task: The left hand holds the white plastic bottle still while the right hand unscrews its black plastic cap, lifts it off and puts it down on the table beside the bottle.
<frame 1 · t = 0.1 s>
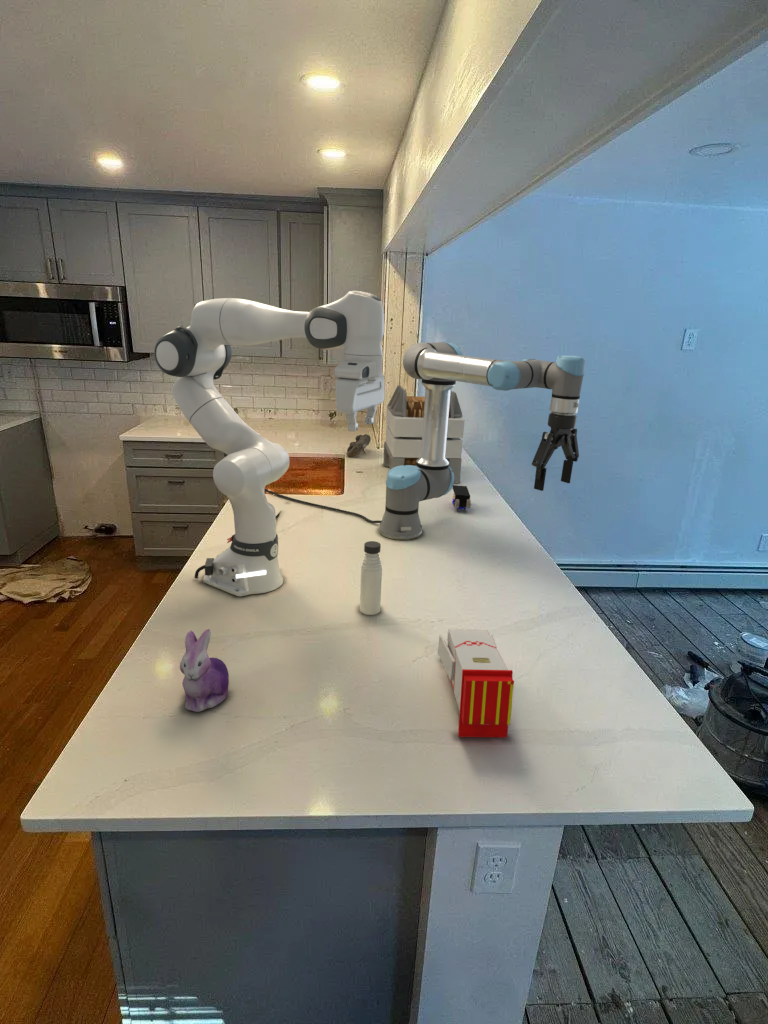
left hand: (361, 427, 134), 48 cm above the counter, tool pointing down, fingers open, 8 cm apart
right hand: (552, 485, 166), 28 cm above the counter, tool pointing down, fingers open, 13 cm apart
figurine character: (460, 507, 229), on the counter
feather: (279, 514, 213), on the counter
bottle: (369, 609, 149), on the counter
fossil: (358, 453, 307), on the counter
cap: (372, 545, 143), point 18 cm above the counter, screwed on, not yet turned
gray slatted crate: (419, 473, 275), on the counter
toy: (469, 691, 119), on the counter
figurine: (207, 698, 113), on the counter
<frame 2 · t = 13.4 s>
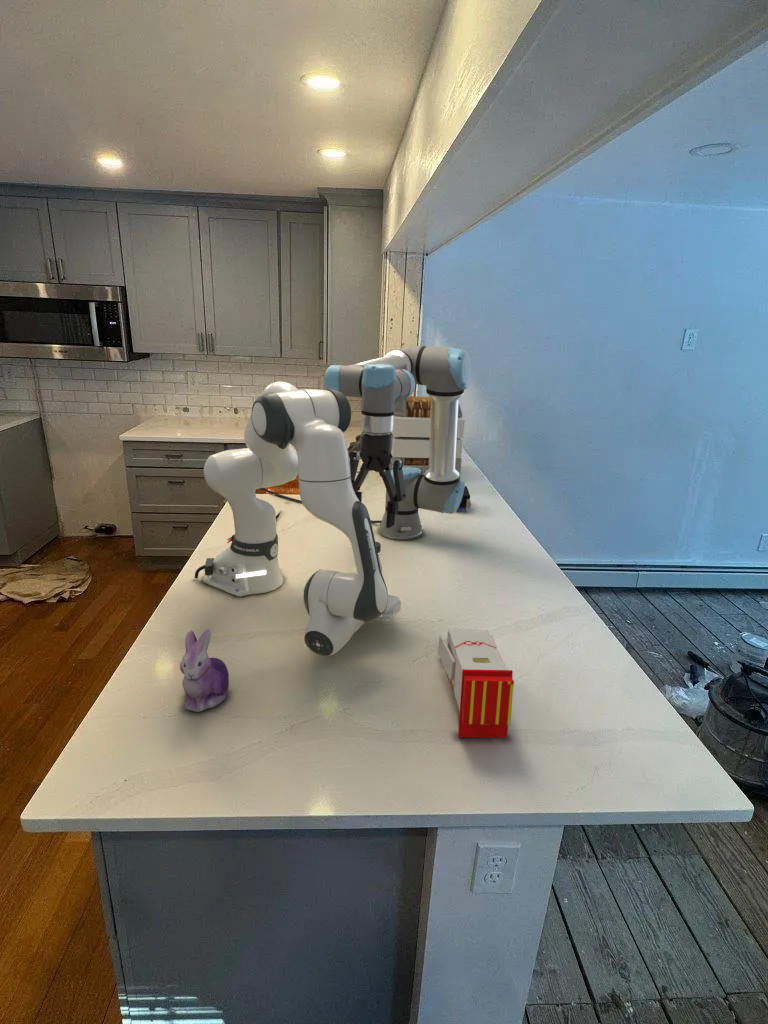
left hand: (372, 587, 148), 6 cm above the counter, tool horizontal, fingers closed on bottle, 5 cm apart
right hand: (373, 521, 141), 25 cm above the counter, tool pointing down, fingers open, 9 cm apart
bottle: (369, 609, 149), on the counter, touching left hand
everything else where it was.
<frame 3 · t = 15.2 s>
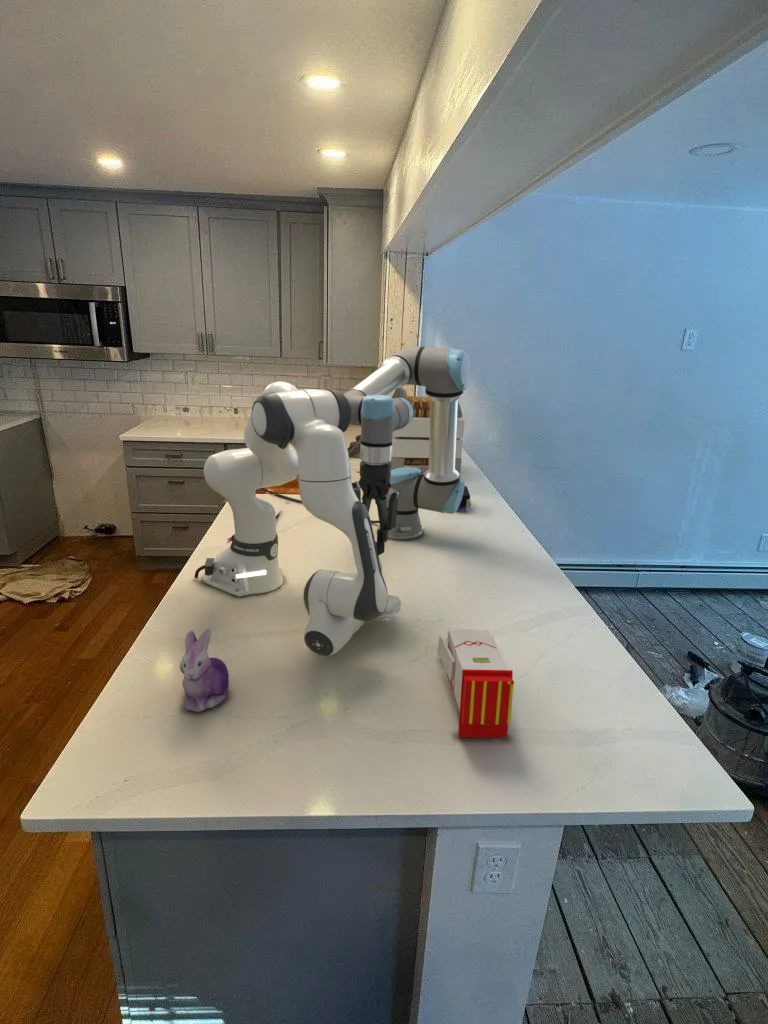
left hand: (372, 587, 148), 6 cm above the counter, tool horizontal, fingers closed on bottle, 5 cm apart
right hand: (372, 551, 143), 17 cm above the counter, tool pointing down, fingers closed on cap, 4 cm apart
bottle: (370, 609, 149), on the counter, touching left hand
cap: (372, 545, 143), point 18 cm above the counter, screwed on, not yet turned, touching right hand
everything else where it was.
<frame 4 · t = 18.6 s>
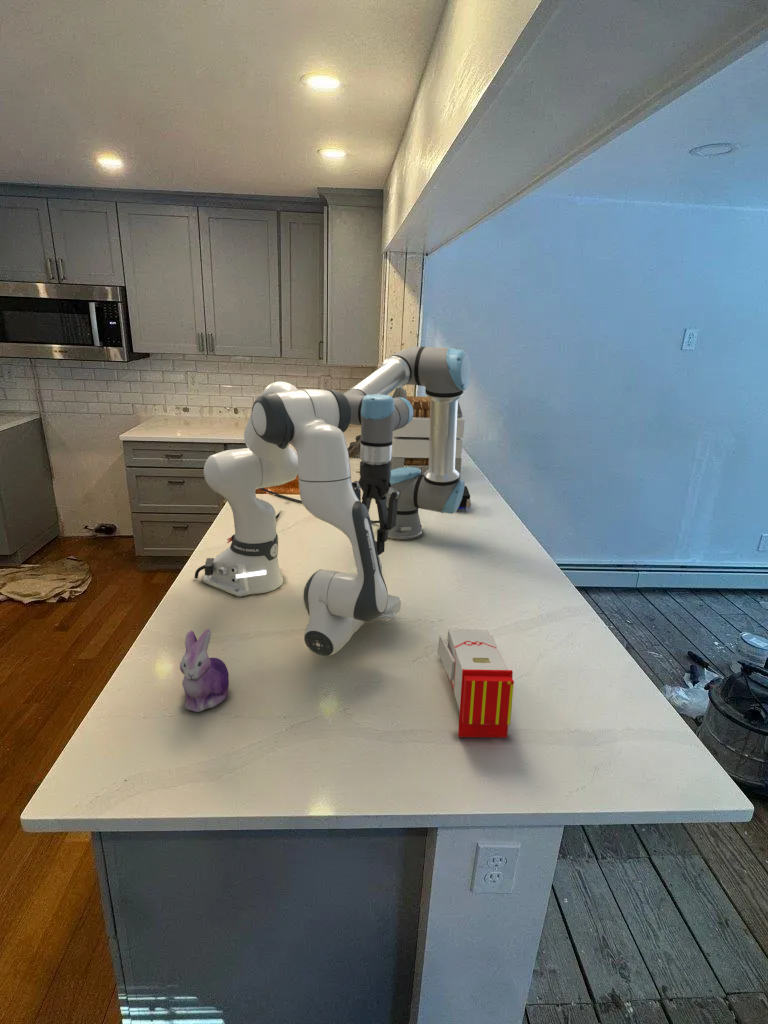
left hand: (372, 587, 148), 6 cm above the counter, tool horizontal, fingers closed on bottle, 5 cm apart
right hand: (372, 550, 143), 17 cm above the counter, tool pointing down, fingers closed on cap, 4 cm apart
bottle: (370, 609, 149), on the counter, touching left hand
cap: (372, 544, 143), point 19 cm above the counter, turned 112° so far, risen 0.1 cm, still on its thread, touching right hand
everything else where it was.
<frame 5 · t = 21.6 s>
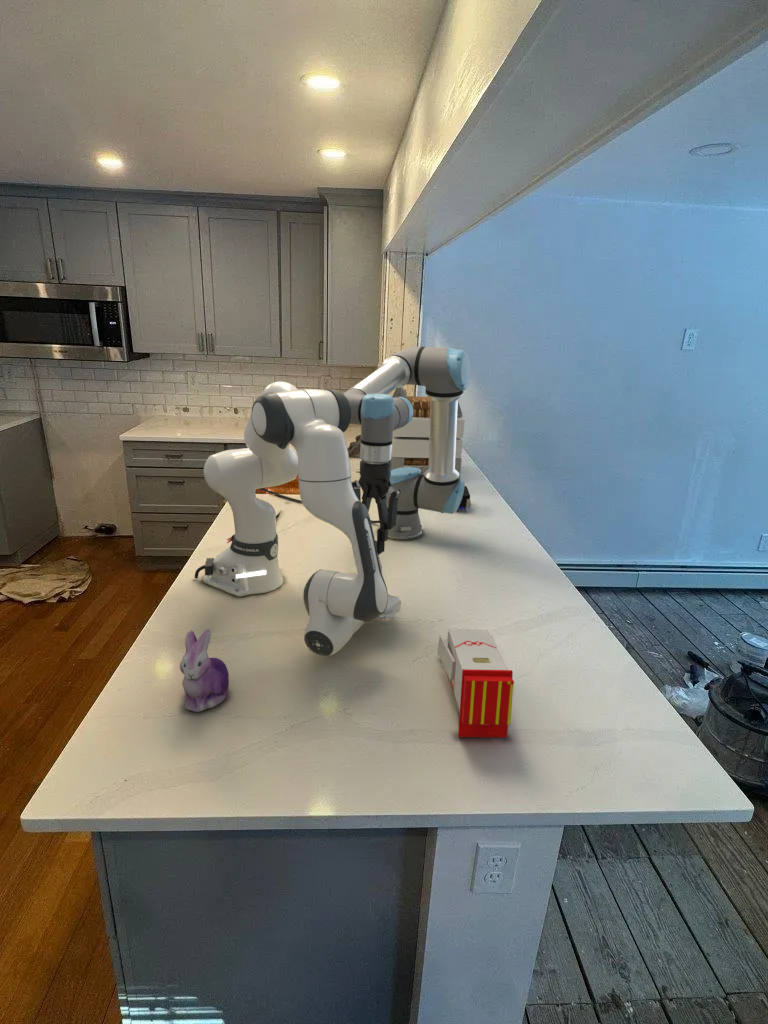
left hand: (371, 587, 148), 6 cm above the counter, tool horizontal, fingers closed on bottle, 5 cm apart
right hand: (372, 550, 143), 17 cm above the counter, tool pointing down, fingers closed on cap, 4 cm apart
bottle: (369, 609, 149), on the counter, touching left hand
cap: (372, 544, 143), point 19 cm above the counter, turned 223° so far, risen 0.2 cm, still on its thread, touching right hand
everything else where it was.
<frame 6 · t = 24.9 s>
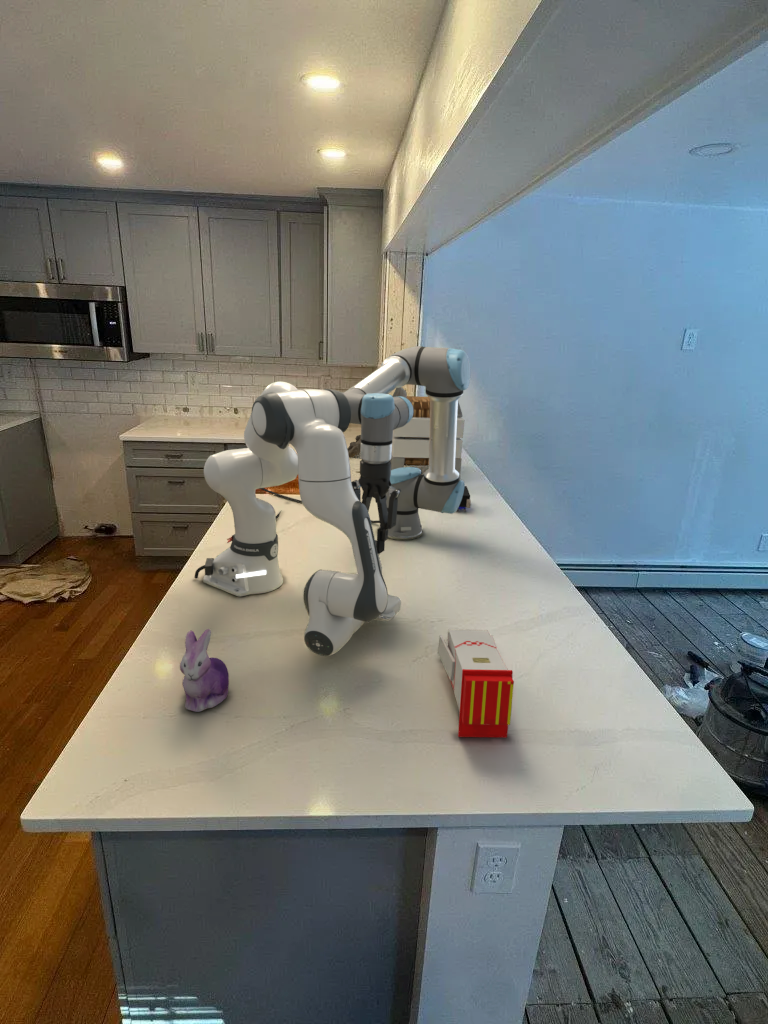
left hand: (371, 587, 148), 6 cm above the counter, tool horizontal, fingers closed on bottle, 5 cm apart
right hand: (372, 549, 143), 17 cm above the counter, tool pointing down, fingers closed on cap, 4 cm apart
bottle: (369, 609, 149), on the counter, touching left hand
cap: (372, 544, 143), point 19 cm above the counter, turned 335° so far, risen 0.4 cm, still on its thread, touching right hand
everything else where it was.
when the right hand's fingers open (1 cm above the counter, at t = 30.8 s): cap drops 1 cm, point 1 cm above the counter.
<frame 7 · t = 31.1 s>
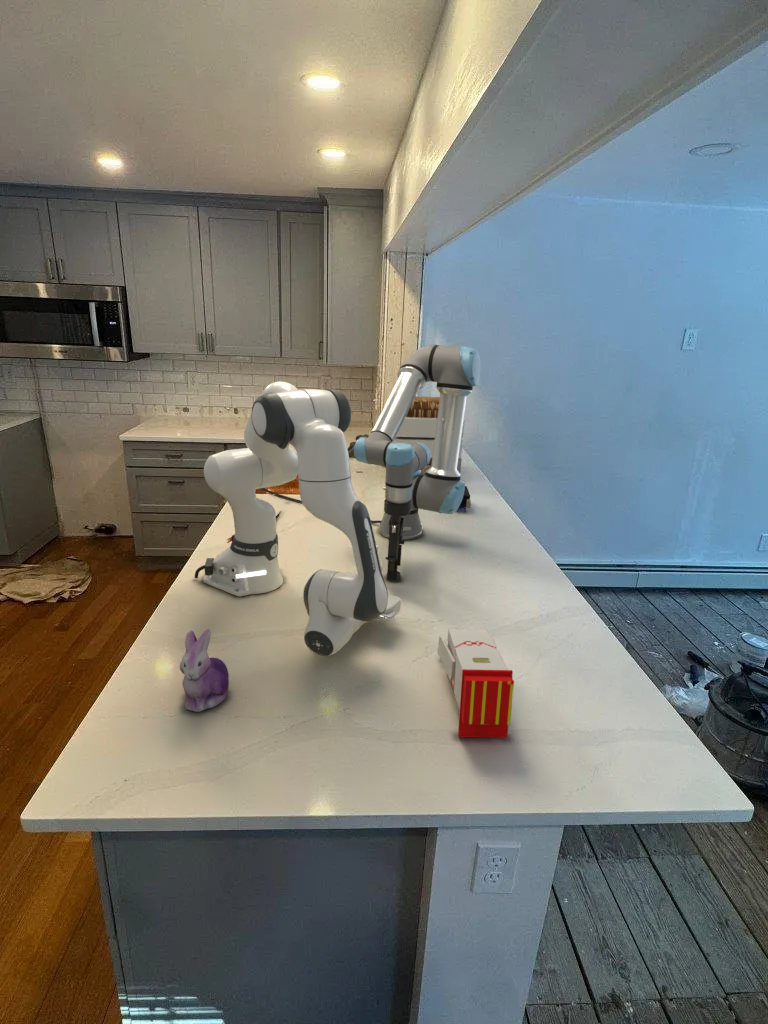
left hand: (372, 587, 148), 6 cm above the counter, tool horizontal, fingers closed on bottle, 5 cm apart
right hand: (393, 572, 166), 2 cm above the counter, tool pointing down, fingers open, 9 cm apart
bottle: (370, 609, 149), on the counter, touching left hand
cap: (393, 574, 166), point 1 cm above the counter, off its thread
everything else where it was.
when the left hand's fingers open (6 cm above the counter, at t = 32.1 s): bottle stays where it is, on the counter.
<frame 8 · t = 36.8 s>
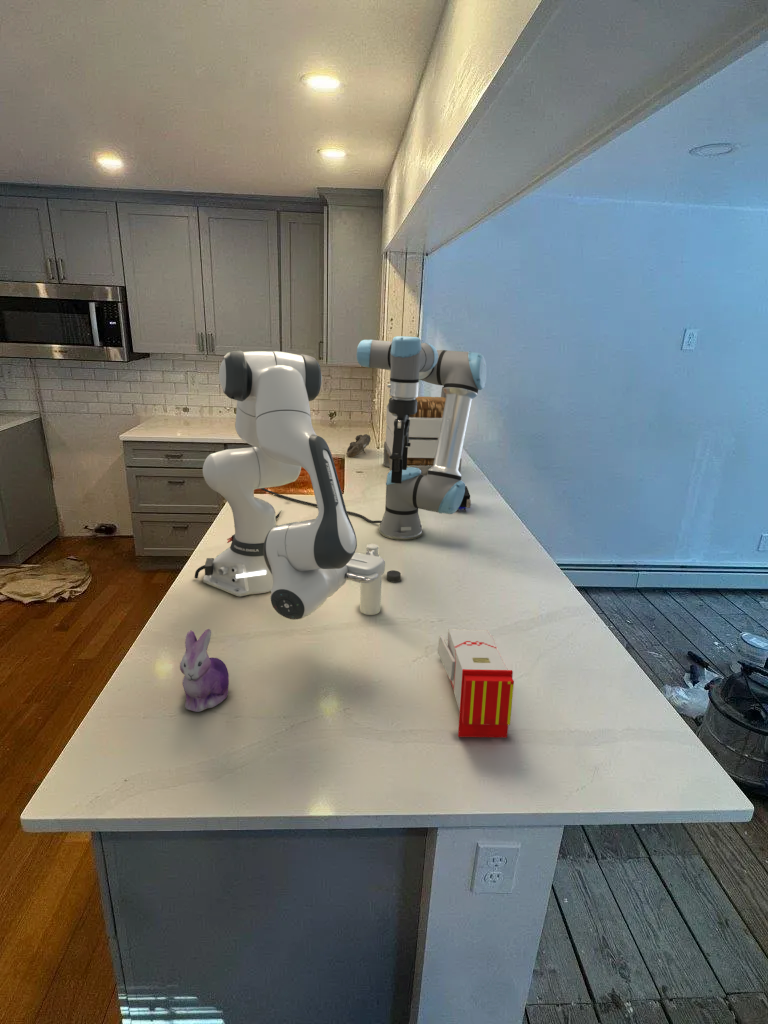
left hand: (353, 549, 132), 22 cm above the counter, tool horizontal, fingers open, 8 cm apart
right hand: (399, 475, 156), 31 cm above the counter, tool pointing down, fingers open, 13 cm apart
bottle: (370, 609, 149), on the counter
everything else where it was.
at the end: cap came off its thread; cap point 1.5 cm above the counter; the left hand is holding nothing; the right hand is holding nothing; bottle tilted 0°; bottle moved 0.0 cm from its start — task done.
